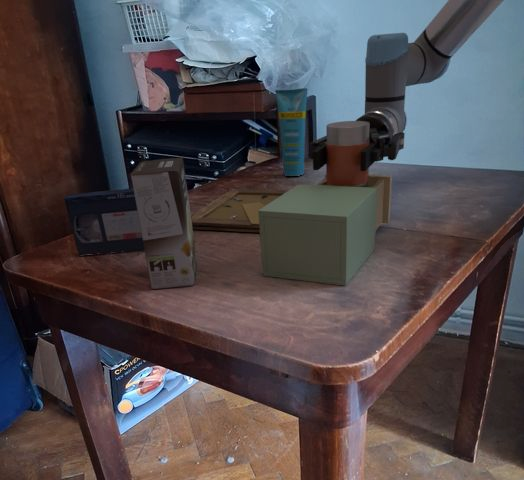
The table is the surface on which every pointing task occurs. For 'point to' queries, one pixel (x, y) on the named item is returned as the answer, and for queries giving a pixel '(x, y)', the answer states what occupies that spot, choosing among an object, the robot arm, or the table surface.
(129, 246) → the vhs cassette tape
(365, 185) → the tin can
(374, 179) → the drawer
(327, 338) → the table surface
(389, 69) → the robot arm
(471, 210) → the table surface
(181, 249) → the coffee box
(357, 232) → the cabinet
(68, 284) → the table surface
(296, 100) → the tube
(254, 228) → the picture frame
